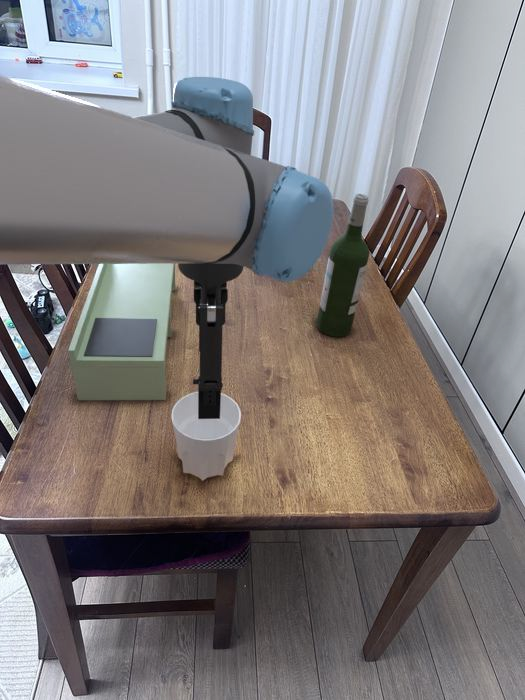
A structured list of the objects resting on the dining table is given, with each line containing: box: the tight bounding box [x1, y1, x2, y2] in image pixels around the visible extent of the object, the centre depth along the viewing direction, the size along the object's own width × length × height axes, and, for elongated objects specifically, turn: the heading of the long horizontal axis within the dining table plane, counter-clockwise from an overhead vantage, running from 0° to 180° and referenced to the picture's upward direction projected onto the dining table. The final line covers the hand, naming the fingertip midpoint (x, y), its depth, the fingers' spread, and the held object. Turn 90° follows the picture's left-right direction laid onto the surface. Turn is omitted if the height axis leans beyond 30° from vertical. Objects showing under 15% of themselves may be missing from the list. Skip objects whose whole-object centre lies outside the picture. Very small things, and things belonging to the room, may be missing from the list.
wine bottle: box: [316, 193, 370, 338], centre depth 100 cm, size 8×8×30 cm
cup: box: [170, 391, 242, 482], centre depth 74 cm, size 10×10×10 cm
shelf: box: [67, 263, 177, 401], centre depth 97 cm, size 39×15×11 cm, turn 5°
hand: (208, 381), depth 67 cm, fingers open, 13 cm apart
